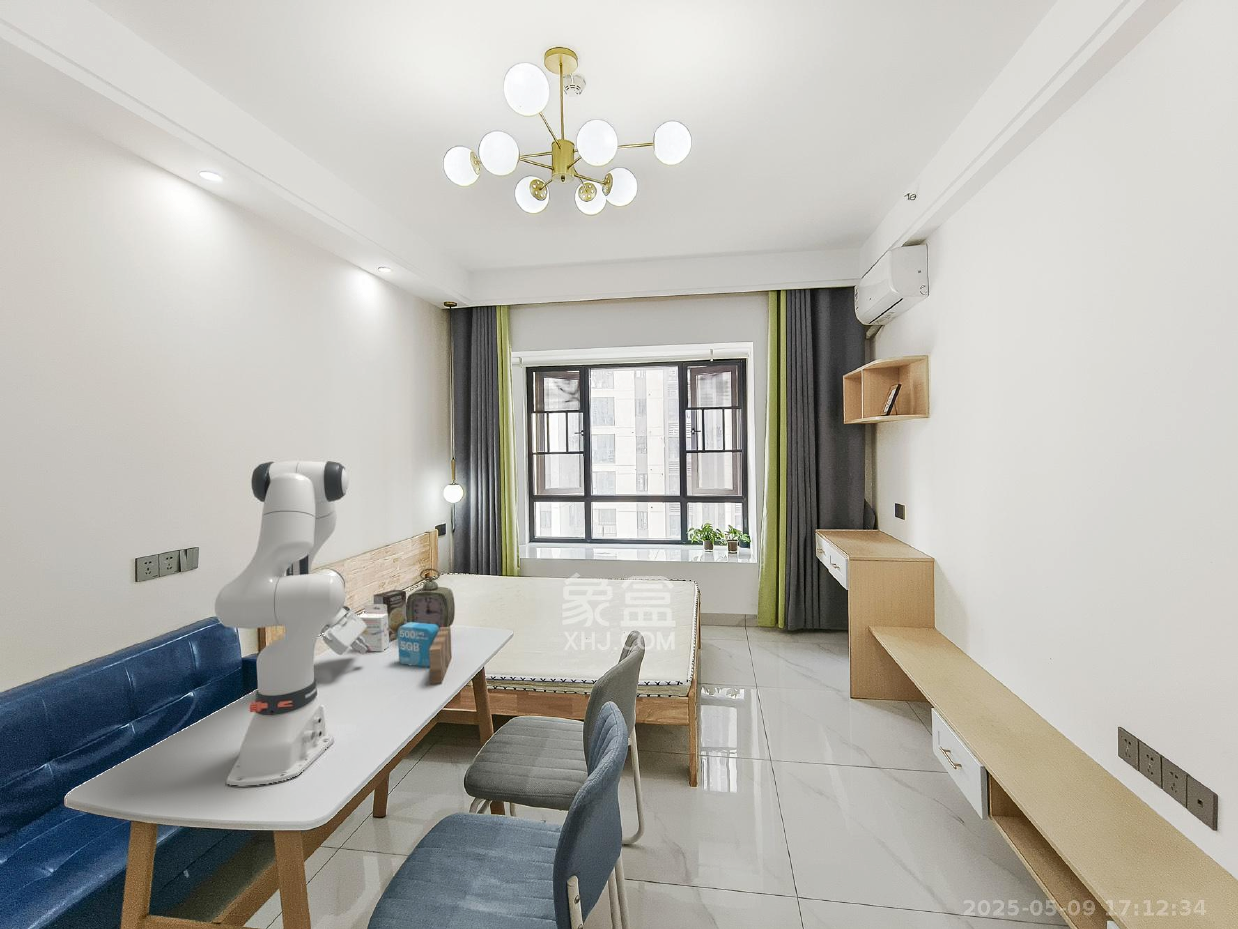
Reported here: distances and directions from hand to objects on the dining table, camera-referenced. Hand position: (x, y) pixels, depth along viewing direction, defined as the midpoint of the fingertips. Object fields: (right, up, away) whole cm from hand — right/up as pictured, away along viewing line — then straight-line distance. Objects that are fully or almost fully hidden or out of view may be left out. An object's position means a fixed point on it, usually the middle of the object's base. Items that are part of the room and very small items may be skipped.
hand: (366, 650), depth 177 cm
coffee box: (-3, -4, +27) cm, 28 cm away
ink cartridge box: (-4, -5, +16) cm, 17 cm away
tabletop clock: (+13, -4, +24) cm, 28 cm away
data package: (+15, -5, +2) cm, 16 cm away
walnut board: (+24, -5, -4) cm, 25 cm away
